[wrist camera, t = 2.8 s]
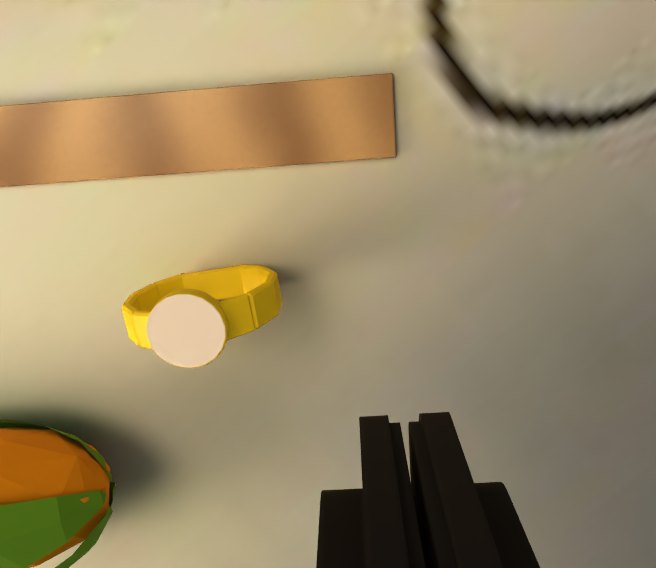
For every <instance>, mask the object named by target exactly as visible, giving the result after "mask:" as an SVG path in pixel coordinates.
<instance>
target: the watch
mask: <svg viewBox="0 0 656 568" xmlns="http://www.w3.org/2000/svg"><path fill="white" fill-rule="evenodd" d="M228 298H229V299H228ZM222 299H226V300H223V301H220V302H218V300H222ZM281 305H282V298H281V292H280V287H279V281H278V276H277V273H276V272H274V271H273V270H271V269H269V268H267V267H265V266H259V265H239V266H232V267H226V268H220V269H213V270H207V271H201V272H195V273H188V274H185V273H181V275H176V276H173V277H170V278H167V279H164V280H161V281H158V282H155V283H153V284H150V285H148V286H146V287H144V288H142V289H140V290H138V291H136V292H134V293H132V295H130V296H129V297H128V299H127V300H126V301H125V303H124V304H123V305H122V312H123V316H124V319H125V323H126V327H127V330H128V334H129V338H130V339H131V340H132V341H134V342H135V343H136V344H137V345H138V346H140V347H143V348H149V349H153V350H154V351H155V352H156V353H157V354H158V355H159V356H160V357H161V358H162V359H164V360H165V361H167V362H168V363H170V364H172V365H175V366H178V367H182V368H197V367H201V366H204V365H207V364H209V363H210V362H212V361H213V360H215V359H216V358H217V357H218V356H219V355H220V353H221V352H222V350H223V349H224V347H225V345H226V342H227V340H229V339H232V338H235V337H238V336H240V335H243V334H246V333H249V332H251V331H254V329H258V328H259V327H261V326H262V325H264V324H265V323H267V322H268V321H270V320H271V319H273V318H274V317H276V315H278V313H279V311H280V308H281Z"/></svg>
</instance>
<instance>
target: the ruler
mask: <svg viewBox="0 0 656 568" xmlns="http://www.w3.org/2000/svg"><path fill="white" fill-rule="evenodd" d="M387 157H396V146H395V122H394V98H393V74H392V73H387V74H375V75H363V76H351V77H339V78H327V79H315V80H303V81H292V82H280V83H268V84H256V85H244V86H232V87H220V88H208V89H196V90H184V91H172V92H160V93H148V94H137V95H125V96H113V97H101V98H89V99H77V100H65V101H53V102H41V103H29V104H17V105H5V106H0V187H3V186H17V185H30V184H43V183H56V182H69V181H83V180H96V179H109V178H122V177H136V176H149V175H162V174H175V173H188V172H202V171H215V170H228V169H241V168H254V167H268V166H281V165H294V164H307V163H321V162H334V161H347V160H360V159H373V158H387Z"/></svg>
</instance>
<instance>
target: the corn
mask: <svg viewBox="0 0 656 568" xmlns="http://www.w3.org/2000/svg"><path fill="white" fill-rule="evenodd" d="M111 479H112V475H111V472H110V467H109V466H108V465H107V463H106V461H105V459H104V457H103V456H102V455H101V454H99V453H98V452H97V450H96V449H95V448H94V447H93V446H91V445H89V444H86V443H85V442H84V441H82V440H81V439H80V438H78V437H77V436H74V435H71V434H68V433H65V432H62V431H59V430H56V429H53V428H50V427H47V426H44V425H37V424H30V423H23V422H16V421H9V420H0V568H30V567H34V566H37V565H40V564H42V563H43V562H45V561H47V560H49V559H51V558H53V557H54V556H56V555H58V554H60V553H62V552H64V551H65V550H67V549H69V548H71V547H73V546H75V545H76V544H78V543H80V542H82V541H84V542H83V543H82V544H81V545H80V546H79V548H78V549H77V550H76V551H75V553H74V554H73V555H72V556H70V557H69V558H68V559H66V560H65V561H64V562H62V563H61V564H59V565H58V566H57V567H55V568H69V567H70V566H71V565H72V564H74V563H75V562H76V561H77V560H78V559H80V558H81V557H82V556H83V555H84V554H86V553H87V552H88V551H89V550H90V549H91V548H92V547H93V545H94V544H95V543H96V542H97V540H98V539H99V537H100V535H101V533H102V531H103V529H104V527H105V525H106V523H107V521H108V520H109V518H110V516H111V514H112V512H113V511H112V509H111V504H112V501H113V495H114V489H115V483H112V482H110V481H111Z"/></svg>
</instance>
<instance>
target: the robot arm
mask: <svg viewBox="0 0 656 568" xmlns="http://www.w3.org/2000/svg"><path fill="white" fill-rule="evenodd" d="M359 421H360V442H361V463H362V483H363V489H344V490H323V491H322V492H321V501H320V517H319V534H318V550H317V566H316V568H540V566H539V564H538V562H537V559H536V557H535V555H534V552H533V550H532V548H531V545H530V543H529V541H528V538H527V536H526V534H525V531H524V529H523V527H522V524H521V522H520V520H519V517H518V515H517V513H516V510H515V508H514V506H513V503H512V501H511V499H510V496H509V494H508V492H507V489H506V488H505V486H504V484H503V483H502V482H490V483H474V482H473V479H472V476H471V473H470V470H469V467H468V464H467V462H466V459H465V456H464V453H463V450H462V447H461V444H460V441H459V439H458V436H457V433H456V430H455V427H454V424H453V421H452V418H451V415H450V413H449V412H441V413H422V414H419V422H409V450H410V474H411V482H410V477H409V471H408V465H407V460H406V454H405V449H404V443H403V437H402V432H401V426H400V423H389V420H388V415H385V416H367V417H359Z"/></svg>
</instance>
